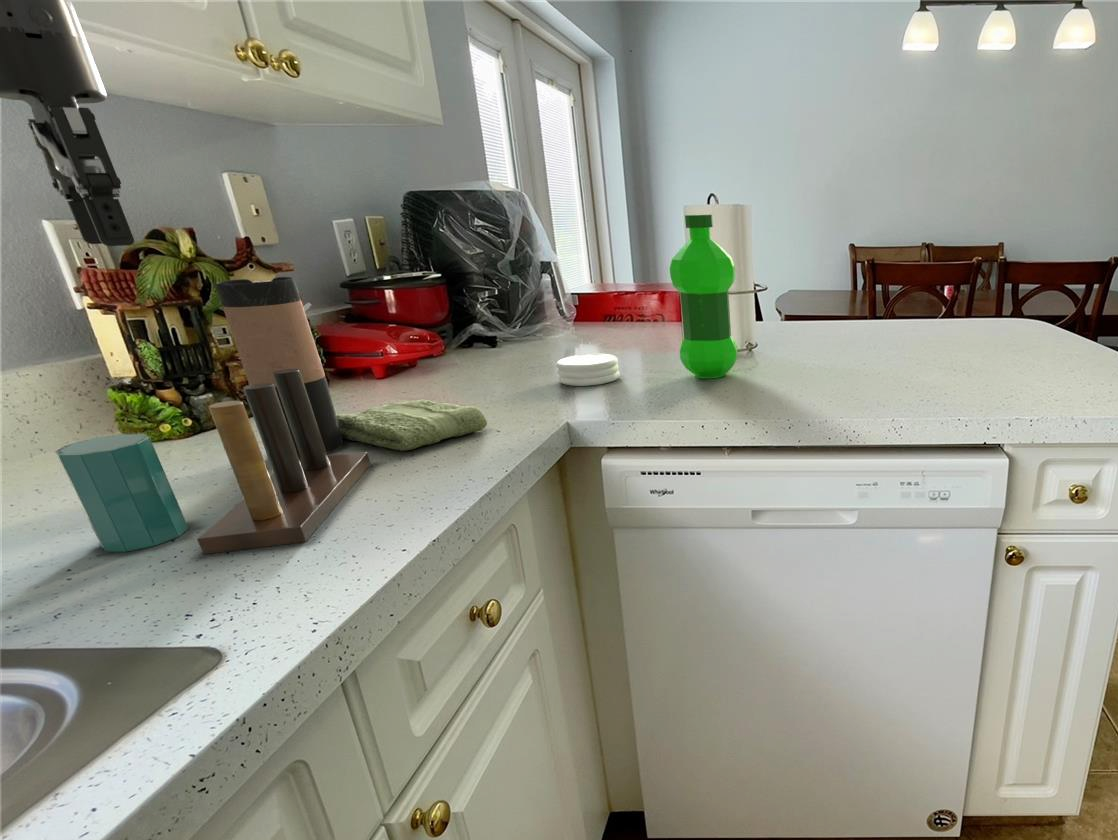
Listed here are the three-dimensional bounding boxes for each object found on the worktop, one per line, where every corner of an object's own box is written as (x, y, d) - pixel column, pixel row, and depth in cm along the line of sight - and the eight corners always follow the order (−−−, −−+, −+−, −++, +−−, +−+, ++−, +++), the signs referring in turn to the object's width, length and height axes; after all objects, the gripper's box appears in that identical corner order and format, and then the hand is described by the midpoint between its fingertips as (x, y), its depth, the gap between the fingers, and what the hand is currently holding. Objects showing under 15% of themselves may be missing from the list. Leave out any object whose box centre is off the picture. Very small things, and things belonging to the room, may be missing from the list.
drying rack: (203, 554, 62) (145, 420, 57) (294, 471, 81) (257, 366, 76) (306, 542, 64) (259, 411, 59) (371, 463, 83) (340, 360, 78)
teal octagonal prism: (86, 556, 62) (37, 458, 58) (126, 527, 68) (84, 437, 64) (166, 546, 63) (123, 451, 60) (199, 519, 69) (162, 430, 65)
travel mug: (305, 461, 84) (245, 284, 76) (259, 456, 87) (196, 283, 78) (360, 442, 91) (310, 277, 82) (316, 437, 93) (263, 276, 85)
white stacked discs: (587, 371, 126) (584, 351, 125) (632, 375, 122) (629, 355, 121) (546, 383, 118) (542, 362, 117) (592, 389, 114) (589, 367, 113)
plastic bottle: (695, 367, 127) (682, 214, 116) (750, 370, 124) (742, 213, 113) (669, 380, 119) (652, 216, 108) (727, 383, 115) (716, 215, 105)
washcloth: (421, 412, 103) (415, 390, 102) (496, 430, 94) (490, 406, 93) (326, 436, 93) (319, 412, 92) (400, 458, 85) (393, 432, 83)
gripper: (-49, 38, 60) (43, 245, 67) (-37, 8, 51) (67, 248, 58) (71, 50, 65) (144, 241, 72) (100, 24, 57) (180, 243, 63)
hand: (109, 244), depth 65 cm, fingers open, 8 cm apart
